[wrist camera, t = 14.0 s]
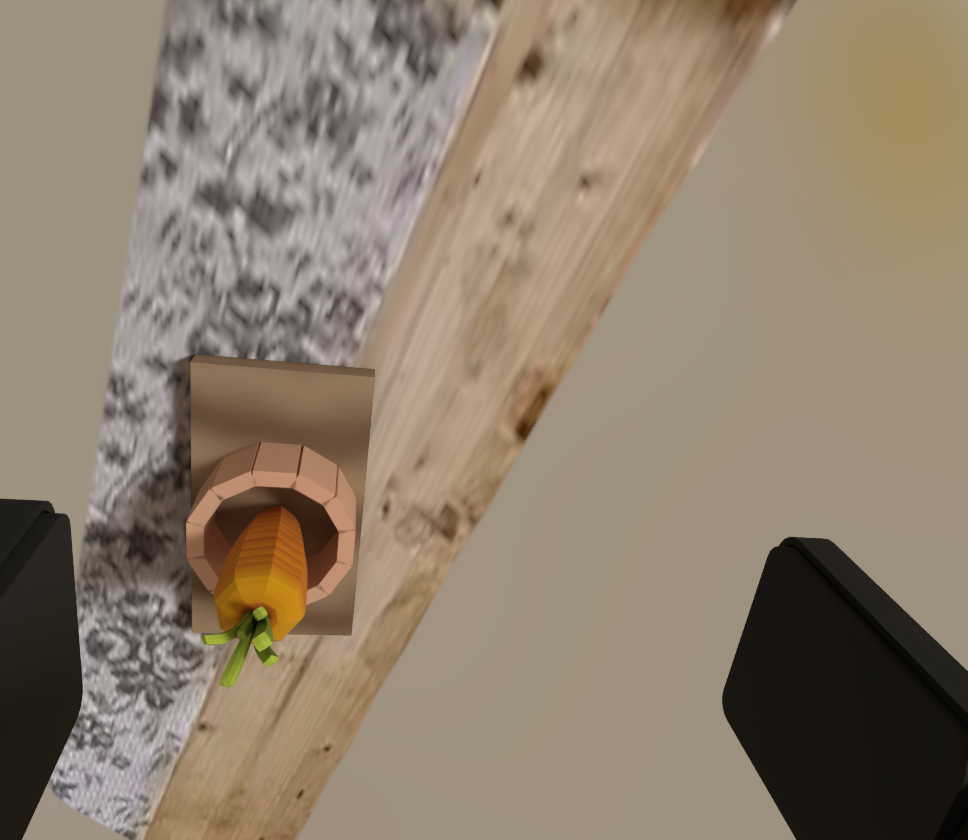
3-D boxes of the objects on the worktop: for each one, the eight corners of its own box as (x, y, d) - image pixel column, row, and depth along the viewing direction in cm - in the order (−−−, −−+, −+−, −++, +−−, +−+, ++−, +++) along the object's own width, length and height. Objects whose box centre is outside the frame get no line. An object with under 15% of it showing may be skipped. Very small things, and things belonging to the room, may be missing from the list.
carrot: (265, 553, 51) (230, 720, 38) (225, 496, 49) (172, 653, 36) (330, 521, 51) (319, 679, 37) (292, 464, 49) (265, 608, 35)
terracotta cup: (199, 438, 47) (185, 467, 44) (360, 448, 49) (360, 477, 46) (199, 572, 51) (186, 609, 47) (349, 577, 53) (348, 613, 49)
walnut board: (195, 354, 47) (190, 362, 45) (374, 369, 49) (374, 377, 47) (196, 618, 54) (192, 632, 53) (351, 622, 56) (351, 635, 55)
